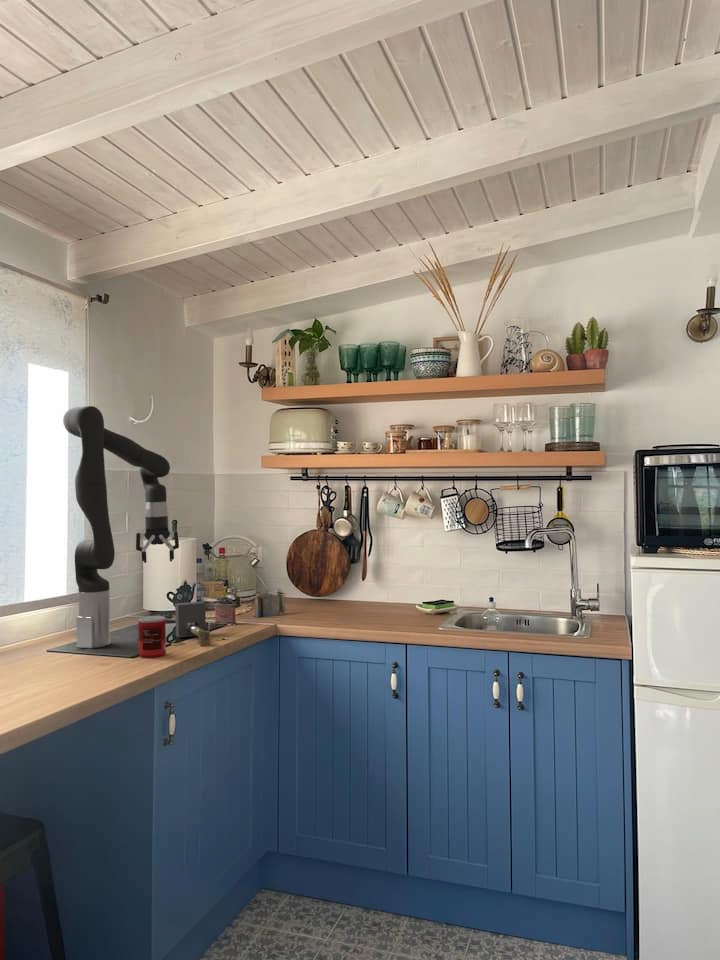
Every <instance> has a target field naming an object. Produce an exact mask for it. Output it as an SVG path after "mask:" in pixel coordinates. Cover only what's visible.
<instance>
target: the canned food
mask: <svg viewBox="0 0 720 960" xmlns="http://www.w3.org/2000/svg"><path fill="white" fill-rule="evenodd" d="M137 621H138V622H137V623H138V625H137V627H138V628H137V629H138V631H137V632H138V633H137V634H138V655H139V657H140V658H142V659H155V658H161V657H163V656H165V655H166V652H167V651H166V650H167V646H166V644H167V643H166V634H167V633H166V617H165V616H163V615H147V616H142V617H139V618H138V620H137Z"/></svg>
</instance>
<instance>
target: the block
mask: <svg viewBox="0 0 720 960" xmlns="http://www.w3.org/2000/svg"><path fill="white" fill-rule="evenodd" d="M174 605H175V606H174V609H175V616H174V617H175V636H176V637H177V638H187V637H189V638H191V637H198V636H197V635H195V634H193V633H192V632H187V623H192V624H193V625H195V626H197V627H198V628H200V629H202V630H204V631H207V628H206V626H207V625H206V623H207V621H206V602H205V601H202V600H201V601H190V602H178V603H175V604H174Z"/></svg>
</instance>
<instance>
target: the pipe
mask: <svg viewBox="0 0 720 960" xmlns="http://www.w3.org/2000/svg"><path fill="white" fill-rule="evenodd" d="M187 632H192V633H193V634H195V635H197V636H196V637H198V646H199V645H200V646H199V647H206V646H205V645H208V646H210V645H211V631H209V630H206V631H204V630H202V629H200V628H198V627H197V626H195V625H194V623H187ZM225 638H226V637H219V638H214V641H215V640H218V641H220V640H219V639H225ZM181 645H185V642H183V641H182V642H176V643H175V642H174V643H173V642H172V643H170V646H172V647H173V646H181Z"/></svg>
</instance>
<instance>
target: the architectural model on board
mask: <svg viewBox="0 0 720 960" xmlns="http://www.w3.org/2000/svg"><path fill="white" fill-rule="evenodd" d="M285 598H286V596H285V595H283V594H278V595H267V596H264V592H260V593H257V594H255V597H254V614H255V615H254V617H255V618H259V617H272V616H284V615H285V614H286V599H285Z"/></svg>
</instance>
